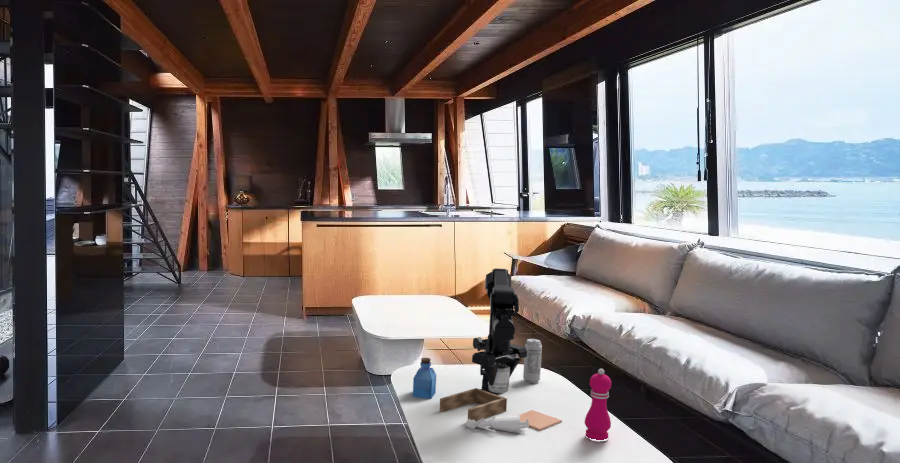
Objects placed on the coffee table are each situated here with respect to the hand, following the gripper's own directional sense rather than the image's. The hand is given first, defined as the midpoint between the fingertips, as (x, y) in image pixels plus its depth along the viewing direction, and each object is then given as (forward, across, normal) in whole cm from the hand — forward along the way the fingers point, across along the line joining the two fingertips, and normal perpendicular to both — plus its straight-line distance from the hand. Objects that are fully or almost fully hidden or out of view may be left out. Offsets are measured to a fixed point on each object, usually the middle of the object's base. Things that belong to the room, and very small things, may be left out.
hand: (498, 383), depth 193 cm
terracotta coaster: (+11, -9, +8) cm, 16 cm away
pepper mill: (+11, -13, +27) cm, 32 cm away
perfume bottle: (+12, +2, -30) cm, 32 cm away
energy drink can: (+12, -39, -18) cm, 45 cm away
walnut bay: (+11, 0, -10) cm, 15 cm away
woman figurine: (+12, +5, +5) cm, 14 cm away
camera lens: (+2, 0, 0) cm, 2 cm away
